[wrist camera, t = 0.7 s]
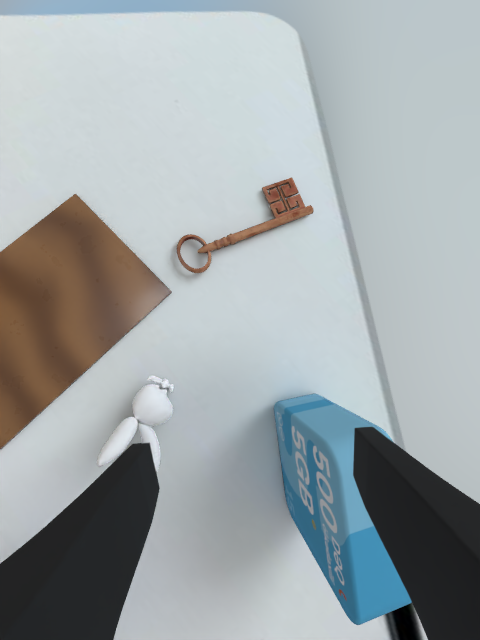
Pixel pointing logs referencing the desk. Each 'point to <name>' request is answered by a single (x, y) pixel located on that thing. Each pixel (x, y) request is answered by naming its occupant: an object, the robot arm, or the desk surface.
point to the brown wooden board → (64, 307)
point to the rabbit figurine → (149, 411)
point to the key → (260, 228)
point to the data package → (335, 505)
